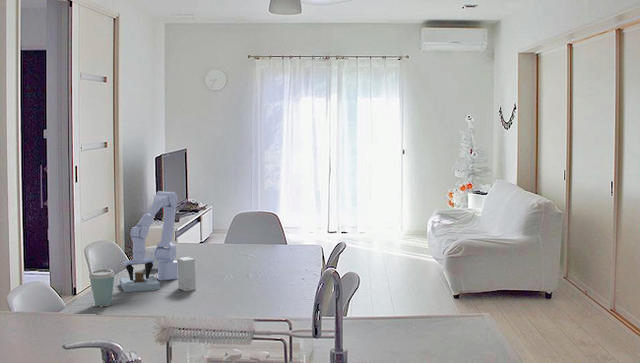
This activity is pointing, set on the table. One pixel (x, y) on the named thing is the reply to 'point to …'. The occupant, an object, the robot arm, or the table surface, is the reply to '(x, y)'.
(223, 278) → the table surface
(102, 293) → the disposable coffee cup
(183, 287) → the skincare box
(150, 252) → the photo printer
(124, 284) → the socket block
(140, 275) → the walnut peg
